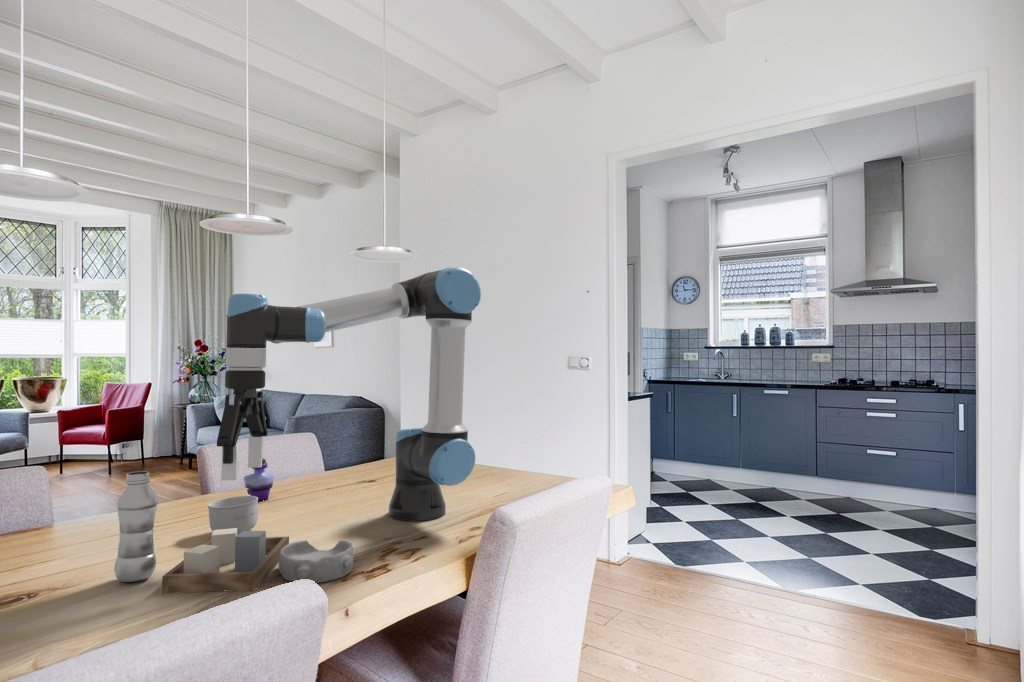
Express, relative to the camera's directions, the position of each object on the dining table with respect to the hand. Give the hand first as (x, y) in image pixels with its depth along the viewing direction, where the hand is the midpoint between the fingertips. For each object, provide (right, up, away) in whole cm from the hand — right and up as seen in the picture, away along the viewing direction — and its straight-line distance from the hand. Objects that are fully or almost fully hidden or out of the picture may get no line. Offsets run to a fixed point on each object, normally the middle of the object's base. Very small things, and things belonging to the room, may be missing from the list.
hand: (242, 473), depth 121 cm
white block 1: (-3, -18, -10) cm, 21 cm away
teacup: (-11, -19, +21) cm, 30 cm away
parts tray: (0, -18, -4) cm, 19 cm away
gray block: (+3, -18, -4) cm, 19 cm away
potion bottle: (-19, -20, +52) cm, 59 cm away
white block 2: (-4, -18, +1) cm, 19 cm away
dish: (+17, -19, -5) cm, 26 cm away
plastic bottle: (-16, -18, -9) cm, 26 cm away
